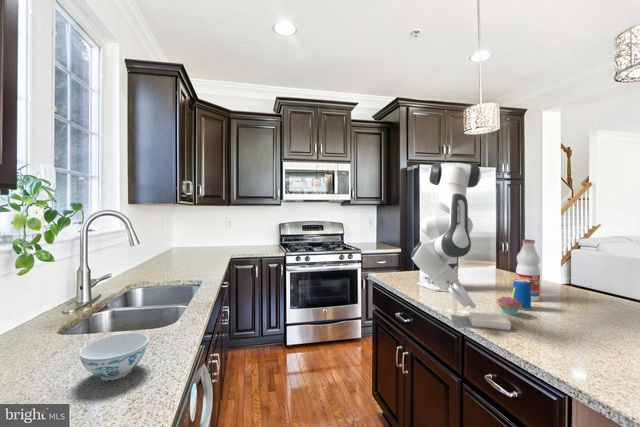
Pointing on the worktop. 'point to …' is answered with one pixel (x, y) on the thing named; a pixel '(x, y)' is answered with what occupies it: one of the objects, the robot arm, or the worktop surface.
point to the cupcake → (509, 304)
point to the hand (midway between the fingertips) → (474, 306)
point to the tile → (489, 320)
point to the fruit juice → (529, 267)
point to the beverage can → (523, 292)
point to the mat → (465, 322)
